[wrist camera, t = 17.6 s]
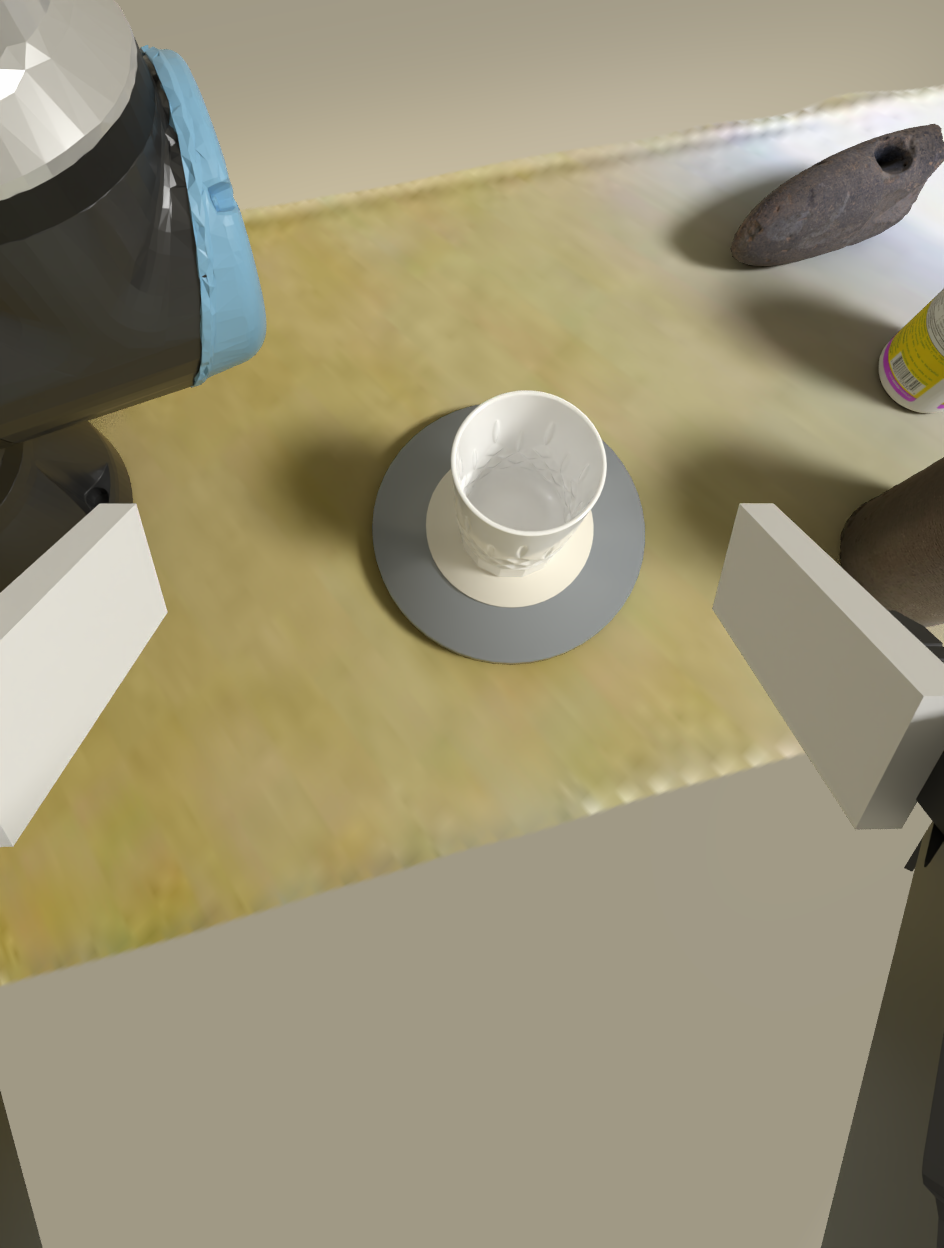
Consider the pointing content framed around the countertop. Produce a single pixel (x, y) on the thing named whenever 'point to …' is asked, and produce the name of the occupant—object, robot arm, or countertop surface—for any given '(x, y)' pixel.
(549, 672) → the countertop surface
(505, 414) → the white cup
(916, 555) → the pillar candle
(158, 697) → the countertop surface
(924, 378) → the supplement bottle
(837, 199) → the perforated stone tool
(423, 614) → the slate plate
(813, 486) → the countertop surface
